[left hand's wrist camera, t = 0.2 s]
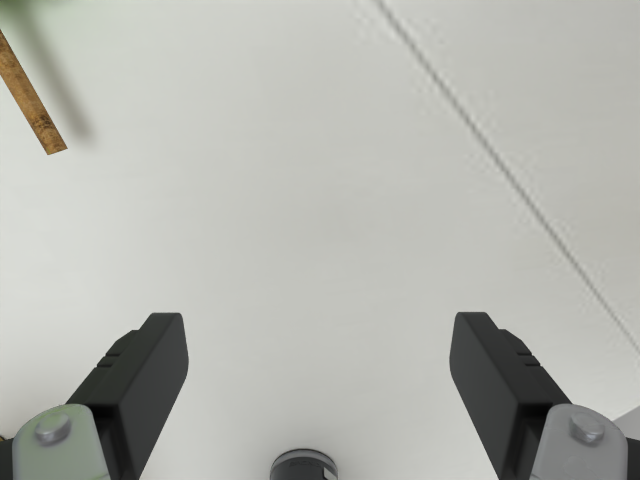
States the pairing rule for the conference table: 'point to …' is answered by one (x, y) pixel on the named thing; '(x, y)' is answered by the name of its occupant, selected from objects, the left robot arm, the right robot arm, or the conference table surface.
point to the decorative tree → (28, 100)
